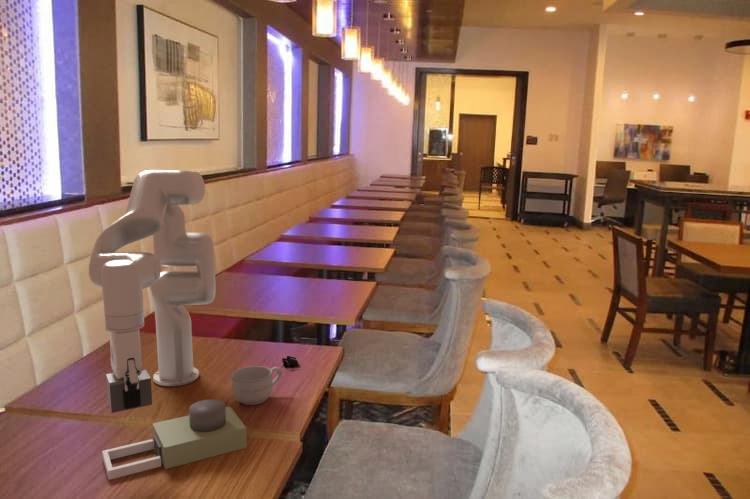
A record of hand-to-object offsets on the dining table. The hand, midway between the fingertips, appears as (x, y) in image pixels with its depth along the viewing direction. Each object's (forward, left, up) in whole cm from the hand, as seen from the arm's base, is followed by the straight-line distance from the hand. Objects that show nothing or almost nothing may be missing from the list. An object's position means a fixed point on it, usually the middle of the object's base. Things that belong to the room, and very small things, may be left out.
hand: (130, 400), depth 128 cm
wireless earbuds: (-34, +51, -15) cm, 63 cm away
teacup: (-17, +34, -15) cm, 41 cm away
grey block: (0, 0, -1) cm, 1 cm away
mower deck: (0, +9, -14) cm, 17 cm away
